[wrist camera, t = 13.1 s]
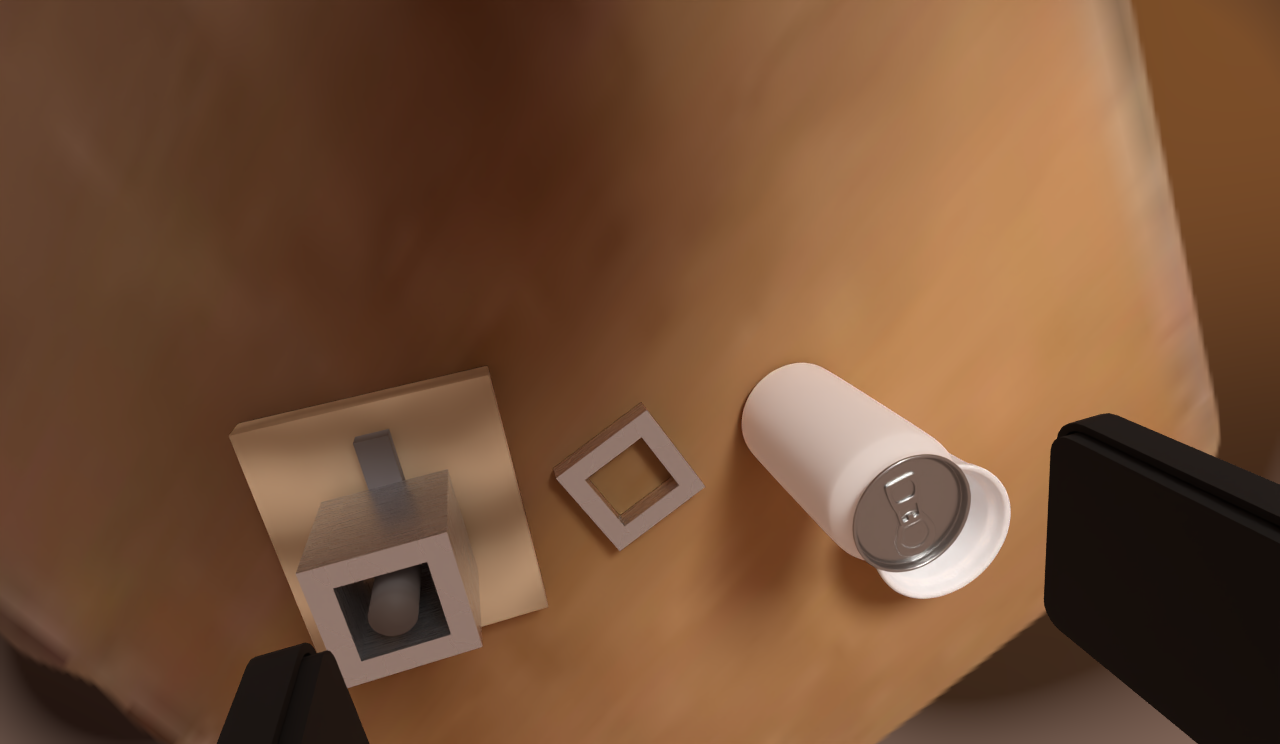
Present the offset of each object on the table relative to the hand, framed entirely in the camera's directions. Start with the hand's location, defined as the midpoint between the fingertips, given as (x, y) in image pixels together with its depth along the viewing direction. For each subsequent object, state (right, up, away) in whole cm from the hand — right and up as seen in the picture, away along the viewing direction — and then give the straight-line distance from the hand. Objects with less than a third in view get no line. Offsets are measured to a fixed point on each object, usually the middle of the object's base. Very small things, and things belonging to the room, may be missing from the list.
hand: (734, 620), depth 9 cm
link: (-13, -5, +27) cm, 30 cm away
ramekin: (+16, -5, +37) cm, 40 cm away
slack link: (-2, -3, +31) cm, 31 cm away
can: (+8, +1, +33) cm, 34 cm away
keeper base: (-13, -4, +29) cm, 32 cm away
